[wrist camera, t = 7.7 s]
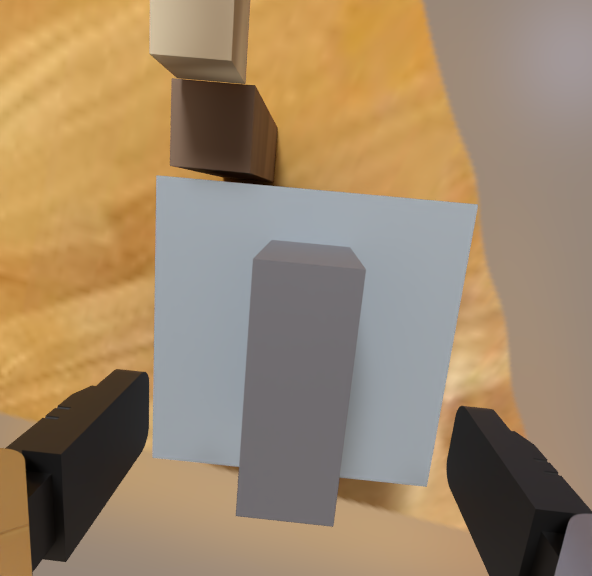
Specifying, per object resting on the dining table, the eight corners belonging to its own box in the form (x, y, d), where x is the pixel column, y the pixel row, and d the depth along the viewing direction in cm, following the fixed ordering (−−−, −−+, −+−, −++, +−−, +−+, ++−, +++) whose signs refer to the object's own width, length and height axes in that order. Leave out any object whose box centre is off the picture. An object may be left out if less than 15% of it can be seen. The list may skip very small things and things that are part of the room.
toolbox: (206, 371, 27) (152, 457, 18) (217, 122, 24) (157, 77, 15) (388, 389, 27) (426, 486, 18) (426, 141, 23) (495, 106, 14)
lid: (169, 430, 20) (93, 554, 13) (175, 178, 18) (83, 165, 11) (414, 455, 20) (469, 596, 13) (457, 203, 17) (555, 208, 10)
